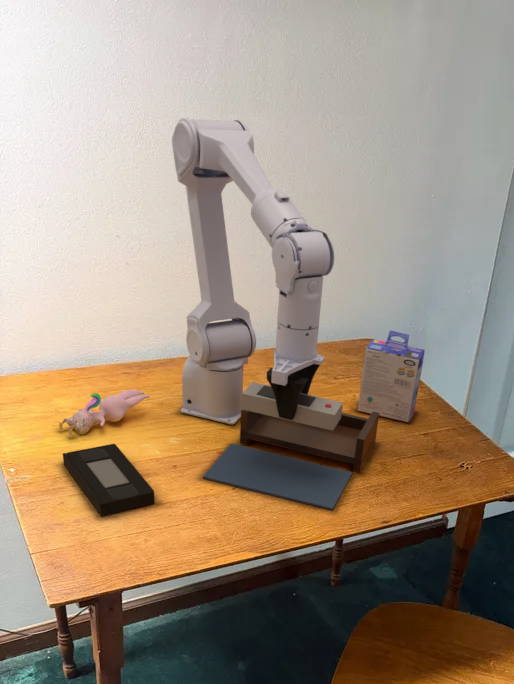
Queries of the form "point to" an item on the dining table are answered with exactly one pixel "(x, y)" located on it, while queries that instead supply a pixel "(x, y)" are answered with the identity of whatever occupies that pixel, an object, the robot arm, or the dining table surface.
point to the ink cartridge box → (391, 378)
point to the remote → (307, 411)
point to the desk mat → (279, 476)
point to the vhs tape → (108, 479)
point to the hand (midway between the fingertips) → (291, 410)
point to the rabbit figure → (103, 410)
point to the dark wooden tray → (315, 436)
